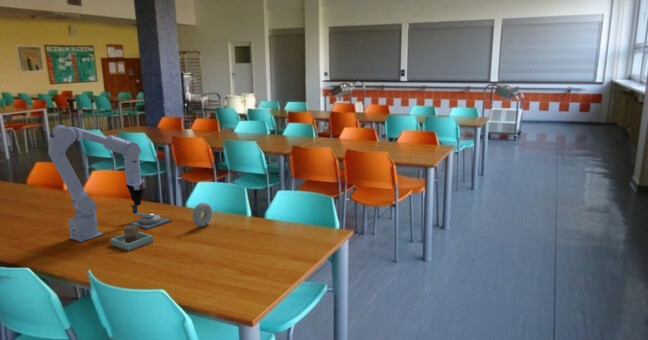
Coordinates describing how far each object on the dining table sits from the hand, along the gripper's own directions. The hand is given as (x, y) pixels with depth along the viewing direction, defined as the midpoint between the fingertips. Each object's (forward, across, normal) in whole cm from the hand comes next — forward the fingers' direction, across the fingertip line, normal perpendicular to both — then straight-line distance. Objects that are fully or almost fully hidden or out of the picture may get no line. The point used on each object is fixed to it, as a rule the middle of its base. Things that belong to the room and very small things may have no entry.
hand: (136, 202), depth 200 cm
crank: (+7, +3, -2) cm, 8 cm away
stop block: (+9, -22, +5) cm, 24 cm away
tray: (+9, -22, +5) cm, 24 cm away
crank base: (+10, -1, -5) cm, 11 cm away
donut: (+10, -16, -23) cm, 30 cm away
